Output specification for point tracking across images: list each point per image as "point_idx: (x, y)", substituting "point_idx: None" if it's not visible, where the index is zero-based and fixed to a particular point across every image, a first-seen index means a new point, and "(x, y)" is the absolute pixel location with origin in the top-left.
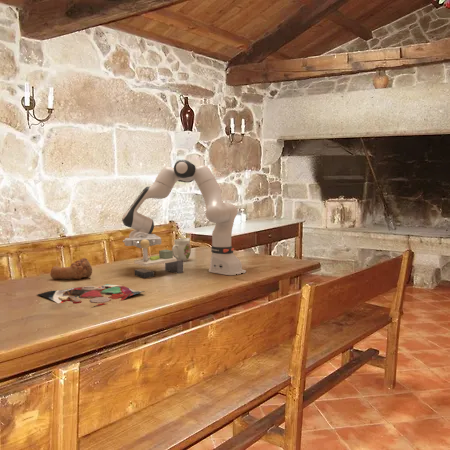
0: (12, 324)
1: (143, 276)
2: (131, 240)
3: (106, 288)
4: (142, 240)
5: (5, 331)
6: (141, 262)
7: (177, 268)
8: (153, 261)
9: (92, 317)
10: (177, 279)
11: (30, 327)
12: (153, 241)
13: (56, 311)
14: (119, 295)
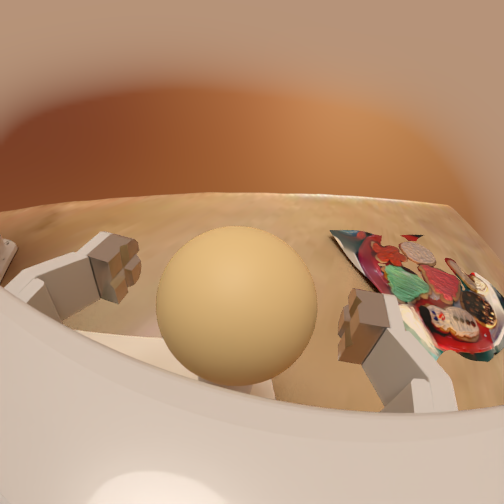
0: (479, 238)
1: None
2: (480, 412)
3: (423, 305)
4: (296, 257)
5: (473, 229)
6: (272, 396)
7: None
8: (174, 366)
9: (409, 213)
10: (143, 299)
11: (459, 225)
12: (119, 235)
13: (460, 246)
14: (385, 254)
